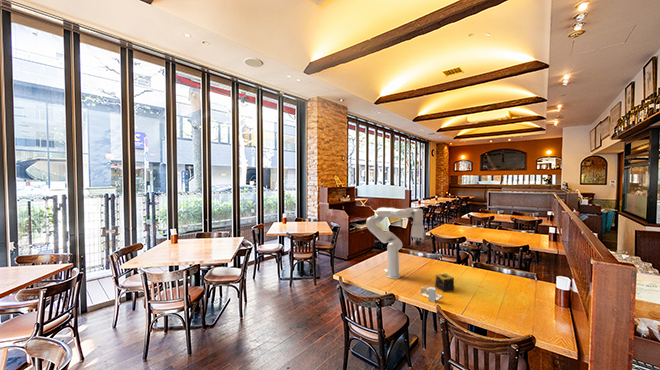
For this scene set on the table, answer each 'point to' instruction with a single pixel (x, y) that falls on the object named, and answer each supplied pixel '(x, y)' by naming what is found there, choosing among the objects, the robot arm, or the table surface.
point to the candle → (444, 282)
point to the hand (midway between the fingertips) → (417, 245)
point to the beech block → (425, 290)
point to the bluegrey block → (432, 294)
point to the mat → (436, 296)
